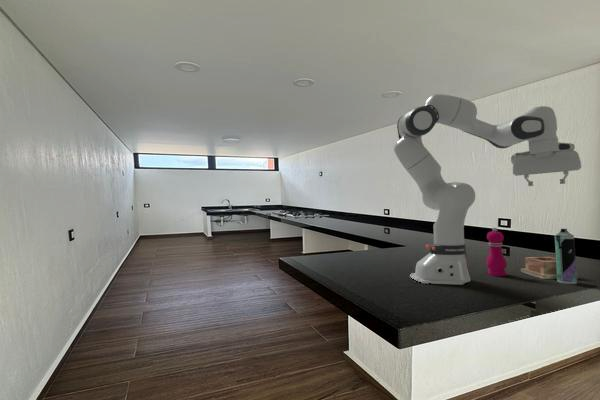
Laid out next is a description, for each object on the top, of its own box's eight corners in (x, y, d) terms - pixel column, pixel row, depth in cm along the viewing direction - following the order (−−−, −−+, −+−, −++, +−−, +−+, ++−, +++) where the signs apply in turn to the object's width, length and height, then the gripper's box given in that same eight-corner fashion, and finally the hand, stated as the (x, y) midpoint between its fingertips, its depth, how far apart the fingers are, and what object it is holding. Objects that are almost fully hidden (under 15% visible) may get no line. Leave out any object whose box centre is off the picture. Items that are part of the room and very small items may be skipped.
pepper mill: (501, 272, 128) (498, 226, 128) (511, 276, 121) (508, 227, 121) (483, 272, 128) (481, 227, 129) (492, 276, 121) (490, 228, 122)
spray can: (573, 284, 106) (569, 229, 106) (554, 281, 110) (551, 228, 111) (579, 282, 108) (576, 228, 109) (561, 279, 113) (558, 227, 114)
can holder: (543, 278, 115) (542, 262, 115) (520, 271, 128) (520, 256, 128) (578, 278, 114) (577, 261, 114) (552, 271, 127) (551, 256, 127)
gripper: (509, 152, 118) (512, 187, 117) (579, 143, 104) (583, 182, 104) (511, 154, 123) (513, 187, 122) (578, 145, 109) (581, 182, 109)
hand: (546, 184), depth 113 cm, fingers open, 8 cm apart
